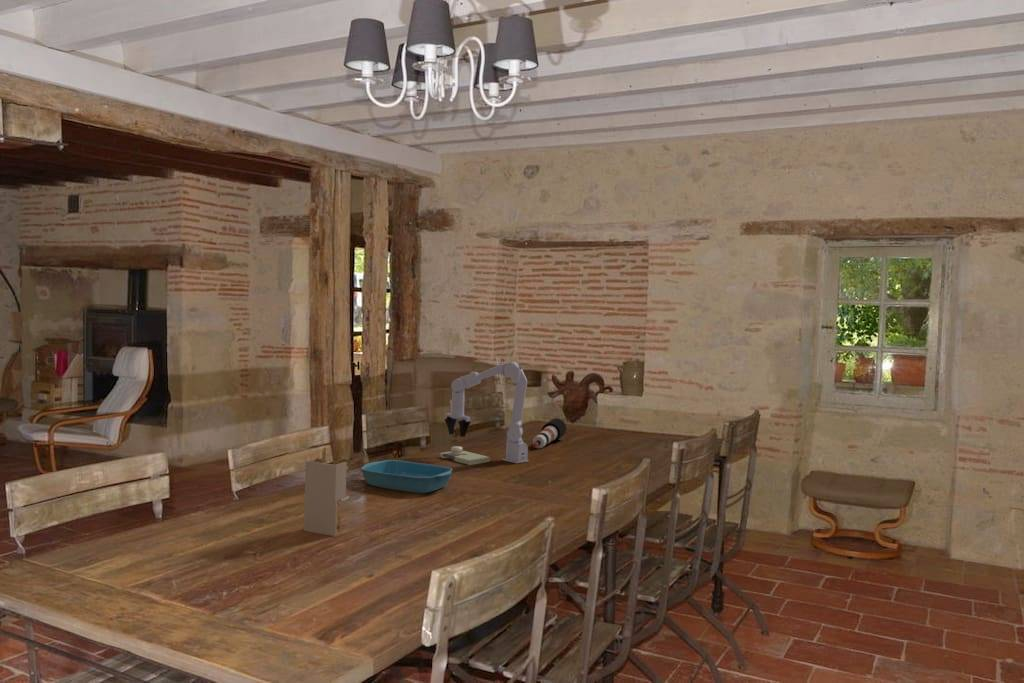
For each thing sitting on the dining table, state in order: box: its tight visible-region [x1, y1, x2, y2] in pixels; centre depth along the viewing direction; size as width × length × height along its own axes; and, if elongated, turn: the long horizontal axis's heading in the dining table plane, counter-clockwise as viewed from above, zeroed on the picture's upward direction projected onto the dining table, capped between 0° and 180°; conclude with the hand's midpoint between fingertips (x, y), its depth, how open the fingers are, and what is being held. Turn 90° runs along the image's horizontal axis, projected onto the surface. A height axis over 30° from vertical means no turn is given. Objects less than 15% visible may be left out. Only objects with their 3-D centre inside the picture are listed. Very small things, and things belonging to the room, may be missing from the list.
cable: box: [532, 417, 567, 449], centre depth 402 cm, size 10×34×10 cm, turn 159°
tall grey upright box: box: [303, 447, 350, 537], centre depth 246 cm, size 8×12×26 cm
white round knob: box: [450, 445, 463, 461], centre depth 361 cm, size 5×5×5 cm
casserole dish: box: [360, 459, 453, 494], centre depth 308 cm, size 37×22×7 cm, turn 63°
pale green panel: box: [439, 450, 491, 466], centre depth 359 cm, size 20×12×2 cm, turn 45°
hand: (457, 435), depth 363 cm, fingers open, 7 cm apart
